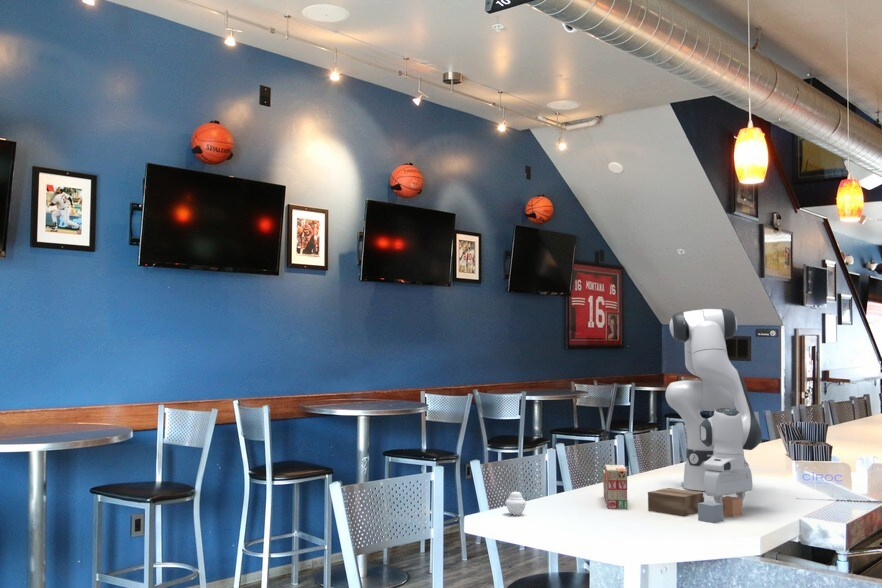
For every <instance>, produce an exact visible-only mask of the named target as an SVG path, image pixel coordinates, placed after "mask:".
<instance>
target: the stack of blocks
mask: <svg viewBox="0 0 882 588" xmlns="http://www.w3.org/2000/svg"><path fill="white" fill-rule="evenodd" d="M602 481H603V482H602V483H603V499H604V502H605V501H606V502H605V504H607V505H606V508H608V510H628V470H627V468H626V467H625V465H623V464H604V469H602Z"/></svg>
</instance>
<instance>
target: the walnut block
mask: <svg viewBox="0 0 882 588" xmlns="http://www.w3.org/2000/svg"><path fill="white" fill-rule="evenodd" d="M703 496H704V492H703V491H696V490H688V489H681V488H680V489H678V488H672V487H667V488H662V489H657V490H652V491H647V511H648V512H652V513H658V514H665V515H672V516H676V517H677V516H678V517H682V518H684V517H688V516H690V515H695V514H698V503H702V502H703Z"/></svg>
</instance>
